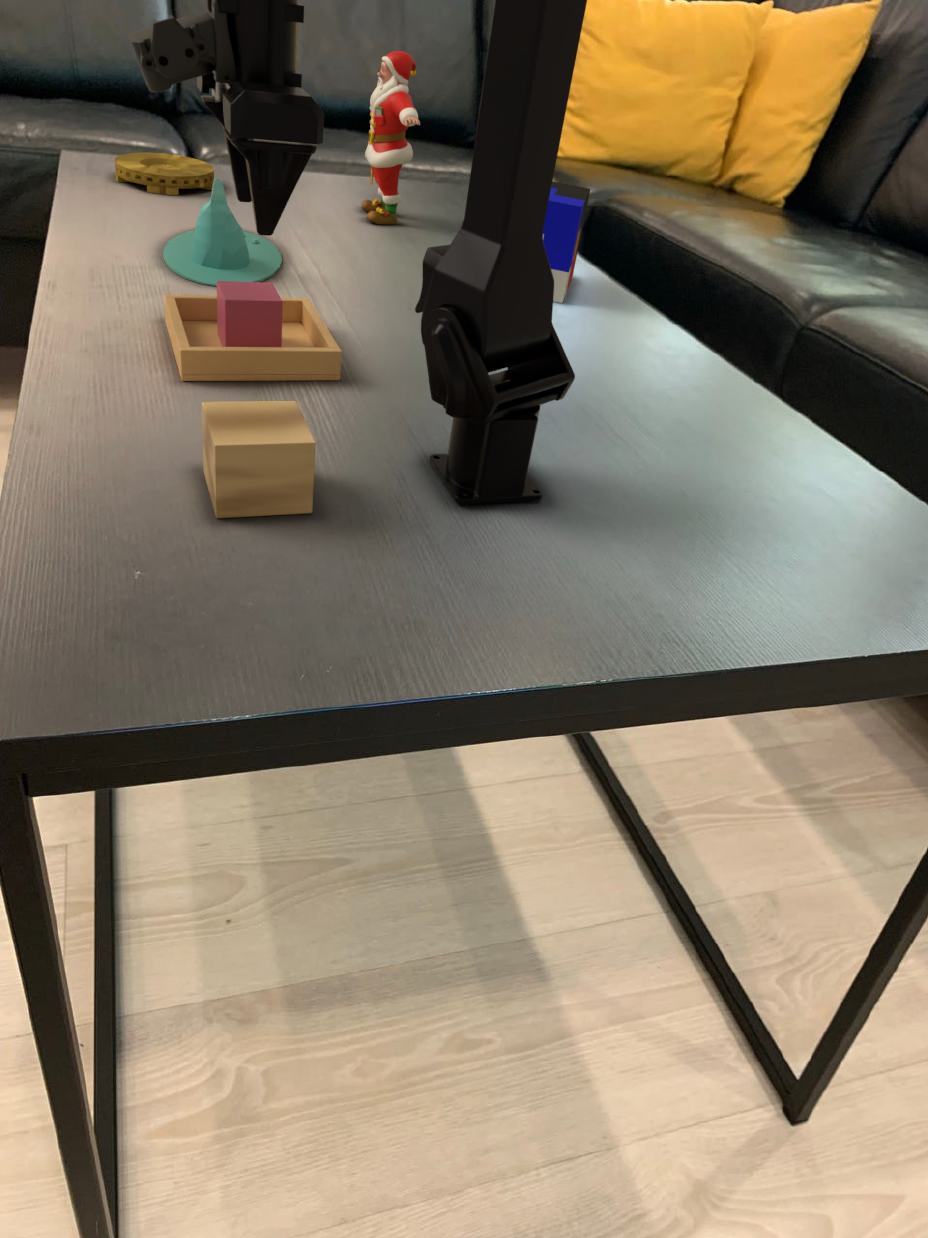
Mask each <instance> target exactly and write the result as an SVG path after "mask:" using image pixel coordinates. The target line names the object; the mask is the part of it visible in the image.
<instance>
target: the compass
mask: <svg viewBox="0 0 928 1238" xmlns="http://www.w3.org/2000/svg"><path fill="white" fill-rule="evenodd" d="M114 170H115V171H114V172H115V180H116V182H117V183H135V184H138V185H144V186H146V193H151V194H158V195H167V196H168V195H169V196H179V194H180V193H179V189H180V190H181V189H203V190H207V191H208V190H210V191H212V188H213V183H214V179H215V168H214V166H212V165H211V164H210V163H208V162H205V161H203V160H200V159H197V158H193V157H189V156H184V155H178V154H172V153H162V152H130V153H124V154H123V153H122V154H120V155H118V156H116V157H114Z"/></svg>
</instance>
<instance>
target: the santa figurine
mask: <svg viewBox="0 0 928 1238" xmlns="http://www.w3.org/2000/svg"><path fill="white" fill-rule="evenodd" d="M416 69H417V65H416V62H415V60H414V58H413V57H412V55H411V54H409V53H407V52H405V51H401V50H396V51H391V52H389V53H387V54H386V55H384V56H382V57H381V64H380V69H378V72H377V73H376V75H377V77H378V79H377V80H378V81H377V83H376V87H375V89H374V90H373V92H372V94H371V95H370V98H369V105H370V106H369V111H370V113H369V116H370V117H371V118H370V120H369V124H370V126H369V127H370V129H369V130H368V138H367V147H366V149H365V152H364V157H365V159H366V160H367V162H368V163H369V165H370V166H371V169H370V181H369V182H370V185H371V186H372V185H373V181H374V180H375V183H376V184H377V185H378V188H377V194H378V195H379V196H380V200H379V199H378V198H374V200H373V201H372V200H371V199H365V200H363V201H362V202H361V209H362V210H364V211H365V212H367V214H366V219H367V220H368V221H370V222H371V223H373V224H374V225H375V224H376V225H379V226H380V225H382V226H383V225H384V226H385V225H386V226H387V225H388V226H389V225H397V224H398V215H397V207H398V204H399V203H400V202H401V199H402V198H401V194H400V193H399V192H398V191H399V189H398V188H399V179H400V177H399V176H400V171H401V170H402V167H403V165H405V164H408V163H409V162H411V161H412V159H413V157H414V150H413V147H412V145H411V143H410V142H408V141H407V138H406V132H407V130H408V129H409V127H413V126H415V125H417V126H421V121H420V120H419V114H418V110H417V108H416V107H415V106H414V103H413V99H412V97H411V94H410V93H409V91H410V90H409V86H408V85H409V80H410V79H411V76H412V77H416V75H417V71H416Z"/></svg>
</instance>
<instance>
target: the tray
mask: <svg viewBox="0 0 928 1238" xmlns="http://www.w3.org/2000/svg"><path fill="white" fill-rule="evenodd" d="M280 298H281V299H282V301H283V309H282V347H222V345H221V342H220V339H219V337H218V327H217V295H208V294H207V295H205V294H172V293H171V294H170V293H169V294H168V293H167V294H164V295H163V299H164V316H165V317H164V320H165V321H164V322H165V326H166V329H167V332H168V337H169V341H170V344H171V348H172V351H173V354H174V358H175V362H176V365H177V369H178V373H179V376H180V380H181V382H215V381H216V382H218V381H219V382H232V381H233V382H234V381H235V382H238V381H239V382H241V381H242V382H243V381H245V382H246V381H247V382H249V381H250V382H251V381H252V382H253V381H256V382H257V381H264V382H265V381H266V382H267V381H269V382H271V381H274V382H275V381H340V380H341V368H342V352H343V351H342V350H341V348H340V346H339V345H338V343H337V341H336V340H335V338H334V336H333V335H332V333H331V332H330V330H329V328H328V327H327V325H326V323H325V322H324V321H323V319H322V317H321V316H320V314H319V312H318V310H317V309H316V308H315V306H314V304H313V302H312V301H311V300H310V298H308V297H282V296H280Z"/></svg>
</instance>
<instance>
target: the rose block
mask: <svg viewBox="0 0 928 1238" xmlns="http://www.w3.org/2000/svg"><path fill="white" fill-rule="evenodd" d="M216 296H217V327H218V337H219V339H220V342H221V345H222V347H282V309H283V301H282V299H281V298H280V297H281V296H280V293H279V292H278V290H277V288H276V286H275V285H274V283H273V282H264V281H261V282H238V281H217V286H216Z"/></svg>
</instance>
